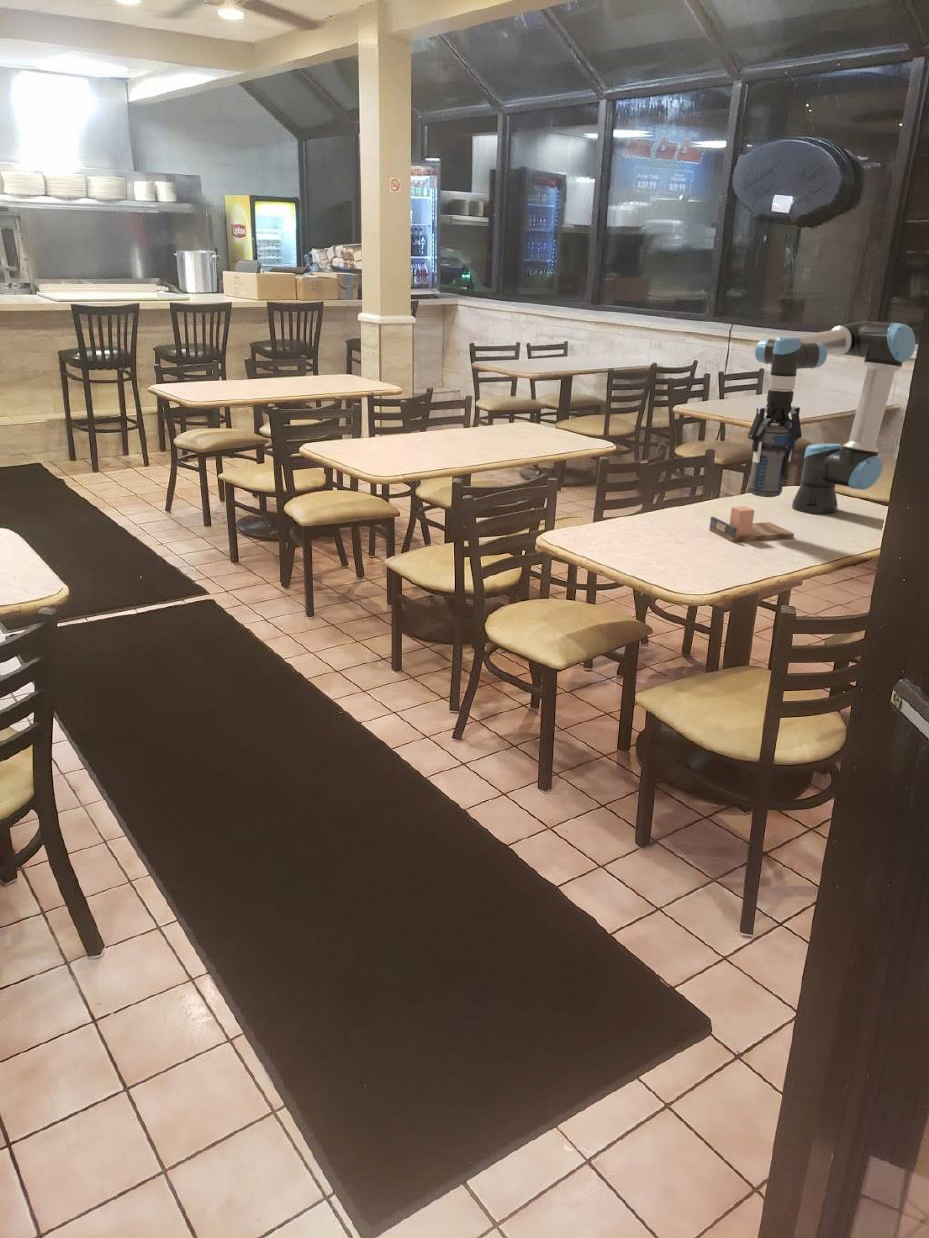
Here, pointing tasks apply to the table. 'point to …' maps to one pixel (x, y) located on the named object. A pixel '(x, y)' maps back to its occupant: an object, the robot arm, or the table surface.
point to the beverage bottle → (773, 458)
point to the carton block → (742, 520)
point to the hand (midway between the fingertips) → (771, 461)
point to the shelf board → (758, 532)
